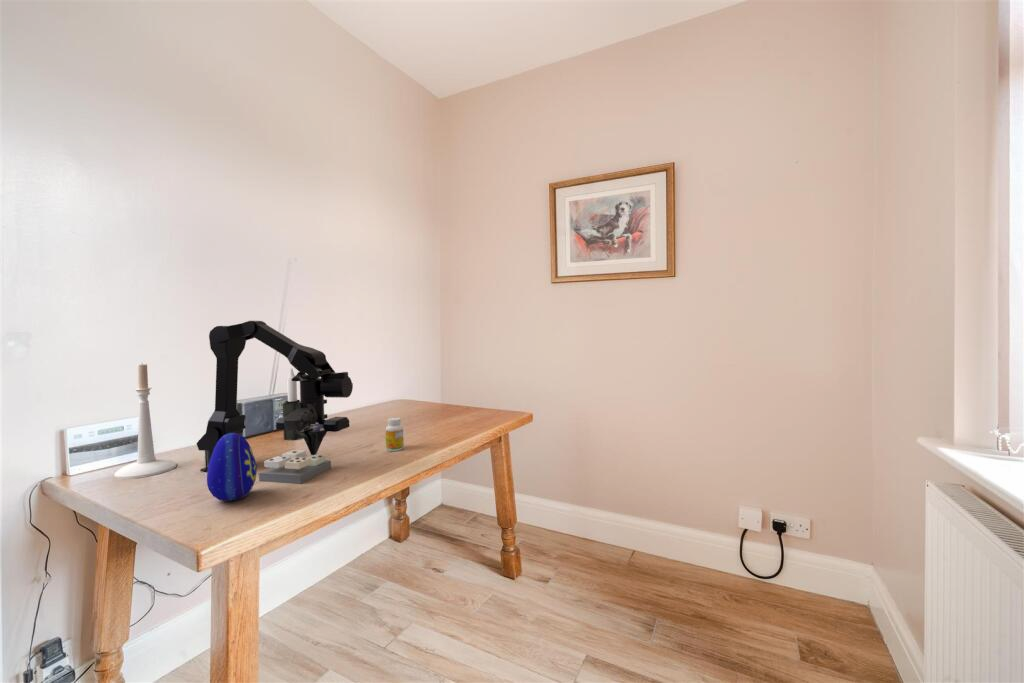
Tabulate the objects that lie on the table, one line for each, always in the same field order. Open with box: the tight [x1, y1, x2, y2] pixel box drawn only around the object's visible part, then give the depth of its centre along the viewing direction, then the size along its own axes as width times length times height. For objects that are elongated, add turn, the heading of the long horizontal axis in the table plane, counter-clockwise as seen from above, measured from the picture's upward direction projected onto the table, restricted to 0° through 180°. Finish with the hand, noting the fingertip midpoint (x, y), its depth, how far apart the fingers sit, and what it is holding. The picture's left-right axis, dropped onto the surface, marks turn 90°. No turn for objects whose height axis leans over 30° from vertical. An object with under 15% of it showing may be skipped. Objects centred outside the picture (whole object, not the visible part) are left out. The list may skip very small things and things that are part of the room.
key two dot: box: [263, 455, 291, 468], centre depth 107 cm, size 4×4×2 cm
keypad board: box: [258, 459, 332, 485], centre depth 109 cm, size 12×12×2 cm
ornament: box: [206, 433, 258, 502], centre depth 93 cm, size 11×9×15 cm
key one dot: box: [281, 449, 308, 459], centre depth 113 cm, size 4×4×2 cm
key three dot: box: [306, 454, 327, 466], centre depth 111 cm, size 4×4×2 cm
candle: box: [282, 368, 303, 441], centre depth 146 cm, size 5×5×25 cm
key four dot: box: [285, 457, 311, 469], centre depth 106 cm, size 4×4×2 cm
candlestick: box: [114, 363, 177, 480], centre depth 113 cm, size 13×13×30 cm
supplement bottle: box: [385, 417, 405, 452], centre depth 131 cm, size 5×5×10 cm
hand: (313, 454), depth 111 cm, fingers closed
